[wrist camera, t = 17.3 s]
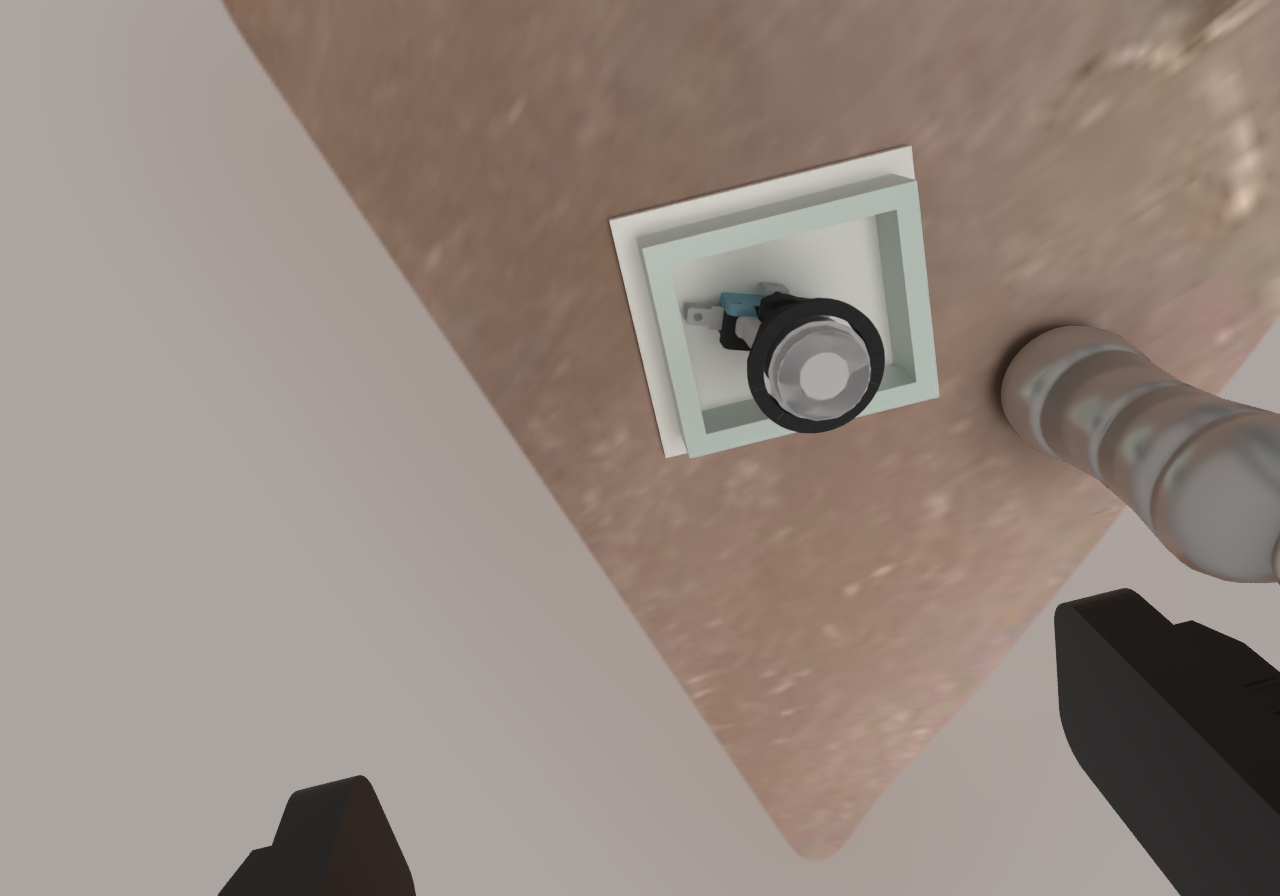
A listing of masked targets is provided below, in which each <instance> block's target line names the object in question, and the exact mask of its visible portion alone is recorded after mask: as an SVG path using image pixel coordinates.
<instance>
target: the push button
mask: <svg viewBox="0 0 1280 896" xmlns="http://www.w3.org/2000/svg"><path fill="white" fill-rule="evenodd" d="M760 285H761V286H762V287H763V288H765V295H755V294H742V293H729V292H722V293H721V298H720V302H711V301H709V302H708V304H695V303H686V304H685V309H684V317H683V318H684V319H685V320H686V323H687V324H688V325H699V326H709V329H710V330H718V331H719V333H720V338H719V342H720V343H721V345H722V346H723V348H725V349H728V350H740V351H750V353H749V356H748V359H747V379H748V385H749V389H750V391H751V394H752V396H753V398H754V400H755V402H756V404H757V405H758V407H759V408H760V410H761V411H762V412H763V413H764V414H765V415H766V416H767V417H768V418H769V419H770V420H771V421H773V422H774V423H776V424H777V425H779V426H781V427H783V428H785V429H788V430H791V431H795V432H800V433H820V432H825V431H829V430H833V429H836V428H838V427H840V426H842V425H844V424H846V423H848V422H850V421H851V420H852V419H854V418H855V417H857V416H858V415H859V414H860V413H861V412H862V411H863V410H864V409H865V408H866V407H867V406H868V405H869V403H870V402H871V401H872V399H873V398H874V396H875V394H876V393H877V391H878V389H879V386H880V384H881V381H882V378H883V374H884V368H885V352H884V346H883V342H882V339H881V337H880V334H879V332H878V330H877V329H876V327H875V326H874V324H873V323H872V322H871V320H870V319H869V318H868V317H867V316H866V315H865V314H863V313H862V312H861V311H859V310H858V309H857V308H855V307H853V306H852V305H850V304H848V303H845V302H843V301H839V300H836V299H830V298H803V297H796V296H793V295H790V294H789V289H787V288H786V287H785V286H784V285H783V284H780V283H772V282H760ZM771 285H774V286H771ZM698 312H699V314H698V315H697V316H694V314H695V313H698ZM829 316H833V317H837V318H840V319H843V320H845V321H847V322H848V323H849V325H850V326H851V328H852V329H851V328H850V327H848V326H846V325H843V324H840V323H837V322H836V321H834V320H833V319H831V318H829ZM764 373H765V375H766V376H767V378H768V379H769V382H770V389H771V392H772V394H773V395H774V397H775V398H776V399H775V398H773V397H772V396H771V395H770V394H769V393H768V391H767V389H766V386H765V382H764Z"/></svg>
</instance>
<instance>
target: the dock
mask: <svg viewBox="0 0 1280 896" xmlns="http://www.w3.org/2000/svg"><path fill="white" fill-rule="evenodd" d="M609 223H610V227H611V231H612V235H613V240H614V244H615V248H616V252H617V256H618V261H619V265H620V269H621V273H622V277H623V282H624V286H625V290H626V294H627V298H628V303H629V307H630V311H631V315H632V319H633V324H634V328H635V332H636V336H637V340H638V345H639V349H640V353H641V357H642V361H643V366H644V370H645V374H646V378H647V382H648V387H649V391H650V395H651V399H652V403H653V408H654V412H655V416H656V420H657V425H658V429H659V433H660V437H661V441H662V446H663V450H664V454H665V457H666V458H669V457H673V456H677V455H681V454H685V453H688V456H689V458H690V459H691V458H695V457H699V456H703V455H707V454H711V453H715V452H719V451H723V450H727V449H731V448H735V447H739V446H743V445H747V444H751V443H755V442H759V441H764V440H768V439H772V438H776V437H780V436H784V435H788V434H792V433H796V432H795V431H791V430H788V429H785V428H783V427H781V426H779V425H777V424H776V423H774V422H773V421H771V420H770V419H769V418H768V417H767V416H766V415H765V414H764V413H763V412H762V411H761V410H760V408H759V407H758V405H757V404H756V402H755V400H754V398H753V396H752V394H751V391H750V389H749V385H748V379H747V359H748V356H749V353H750V351H740V350H728V349H725V348H723V346H722V345H721V343H720V342H719V338H720V333H719V331H718V330H710V329H709V326H699V325H688V324H687V323H686V320H685V319H684V318H683V317H684V309H685V304H686V303H695V304H708V302H709V301H711V302H720V298H721V293H722V292H729V293H742V294H755V295H765V288H763V287H762V286H761V285H760V282H772V283H780V284H783V285H784V286H785V287H786V288H787V289H789V294H790V295H793V296H796V297H803V298H830V299H836V300H839V301H843V302H845V303H848V304H850V305H852V306H853V307H855V308H857V309H858V310H859V311H861V312H862V313H863V314H865V315H866V316H867V317H868V318H869V319H870V320H871V322H872V323H873V324H874V326H875V327H876V329H877V330H878V332H879V334H880V337H881V339H882V342H883V346H884V352H885V368H884V374H883V378H882V381H881V384H880V386H879V389H878V391H877V393H876V394H875V396H874V398H873V399H872V401H871V402H870V403H869V405H868V406H867V407H866V408H865V409H864V410H863V411H862V412H861V413H860V414H859V415H858V416H857V417H860V416H864V415H868V414H872V413H876V412H880V411H884V410H888V409H893V408H897V407H901V406H905V405H909V404H913V403H917V402H921V401H925V400H929V399H933V398H937V397H940V396H939V386H938V377H937V367H936V358H935V348H934V339H933V329H932V319H931V310H930V300H929V291H928V281H927V272H926V262H925V253H924V243H923V233H922V224H921V214H920V205H919V195H918V186H917V180H915V175H914V166H913V156H912V147H911V146H910V145H904V146H900V147H896V148H892V149H888V150H884V151H880V152H876V153H872V154H868V155H864V156H860V157H856V158H852V159H848V160H844V161H840V162H835V163H831V164H827V165H823V166H819V167H815V168H811V169H807V170H803V171H799V172H795V173H791V174H787V175H783V176H779V177H775V178H771V179H767V180H763V181H759V182H755V183H751V184H747V185H743V186H739V187H735V188H731V189H727V190H723V191H719V192H715V193H711V194H707V195H703V196H699V197H695V198H691V199H687V200H683V201H679V202H675V203H671V204H666V205H662V206H658V207H654V208H650V209H646V210H642V211H638V212H634V213H630V214H626V215H622V216H618V217H614V218H610V219H609ZM771 286H774V285H771ZM698 314H699V312H698V313H695V314H694V316H697V315H698ZM829 318H831V319H833V320H834V321H836V322H837V323H840V324H843V325H846V326H848V327H850V328H851V326H850V325H849V323H848V322H847V321H845V320H843V319H840V318H837V317H833V316H829ZM851 329H852V328H851ZM764 382H765V386H766V389H767V391H768V393H769V394H770V395H771V396H772V397H773V398H775V397H774V395H773V394H772V392H771V389H770V382H769V379H768V378H767V376H766V375H765V373H764ZM775 399H776V398H775ZM855 418H856V417H855Z"/></svg>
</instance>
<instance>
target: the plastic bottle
mask: <svg viewBox="0 0 1280 896" xmlns="http://www.w3.org/2000/svg"><path fill="white" fill-rule="evenodd" d="M1001 404H1002V407H1003V411H1004V414H1005V416H1006V417H1007V419H1008V421H1009V423H1010V424H1011V426H1012V427H1013V428H1014V430H1015V431H1016V433H1017V434H1018V435H1019V436H1020V437H1021V438H1022V439H1023V441H1024V442H1025V443H1027V444H1028V445H1030V446H1031V447H1033V448H1034V449H1036V450H1038V451H1041V452H1043V453H1045V454H1047V455H1049V456H1051V457H1054V458H1056V459H1059V460H1062V461H1065V462H1068V463H1070V464H1072V465H1073V466H1075V467H1077V468H1078V469H1080V470H1082V471H1084V472H1085V473H1087V474H1089V475H1091V476H1092V477H1094V478H1096V479H1098V480H1099V481H1100V482H1101V483H1103V484H1104V485H1105V486H1106V487H1107V488H1109V489H1110V490H1111V491H1112V492H1113V493H1114V494H1115V495H1116V496H1118V497H1119V498H1120V499H1121V500H1122V501H1123V502H1124V503H1126V504H1127V505H1128V506H1129V507H1130V508H1131V509H1133V511H1134V512H1135V513H1136V514H1137V515H1138V516H1139V517H1140V518H1141V520H1142V521H1143V522H1144V523H1145V524H1146V525H1147V526H1148V528H1149V529H1150V530H1151V531H1152V532H1153V533H1154V534H1155V535H1156V537H1157V538H1158V539H1159V540H1160V541H1161V543H1162V544H1163V545H1164V546H1165V547H1166V548H1167V549H1168V550H1169V551H1170V552H1171V553H1172V554H1173V555H1175V556H1176V557H1177V558H1178V559H1179V560H1180V561H1181V562H1182V563H1184V564H1185V565H1187V566H1188V567H1190V568H1191V569H1193V570H1196V571H1199V572H1201V573H1204V574H1207V575H1210V576H1213V577H1216V578H1219V579H1222V580H1224V581H1230V582H1238V583H1273V582H1274V583H1275V582H1278V583H1279V584H1280V414H1277V413H1274V412H1270V411H1267V410H1263V409H1260V408H1256V407H1252V406H1249V405H1245V404H1241V403H1237V402H1233V401H1230V400H1226V399H1223V398H1220V397H1218V396H1215V395H1213V394H1210V393H1208V392H1205V391H1203V390H1200V389H1198V388H1195V387H1193V386H1191V385H1188V384H1186V383H1183V382H1181V381H1180V380H1178V379H1177V378H1175V377H1174V376H1172V375H1171V374H1169V373H1168V372H1166V371H1164V370H1163V369H1161V368H1160V367H1158V366H1157V365H1155V364H1154V363H1152V362H1151V361H1150V360H1149V359H1148V358H1147V357H1146V356H1145V355H1144V354H1143V353H1142V352H1141V351H1140V350H1138V349H1137V348H1136V347H1134V346H1133V345H1132V344H1130V343H1129V342H1128V341H1126V340H1125V339H1124V338H1122V337H1121V336H1120V335H1117V334H1115V333H1113V332H1110V331H1108V330H1102V329H1097V328H1091V327H1085V326H1065V327H1060V328H1055V329H1053V330H1050V331H1047V332H1045V333H1043V334H1041V335H1039V336H1038V337H1036V338H1034V339H1033V340H1031V341H1030V342H1029V343H1028V344H1027V345H1025V346H1024V347H1023V348H1022V349H1021V350H1020V351H1019V352H1018V354H1017V355H1016V356H1015V357H1014V358H1013V360H1012V362H1011V363H1010V365H1009V367H1008V368H1007V371H1006V373H1005V376H1004V378H1003V382H1002V388H1001Z"/></svg>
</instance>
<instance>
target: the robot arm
mask: <svg viewBox="0 0 1280 896" xmlns="http://www.w3.org/2000/svg"><path fill="white" fill-rule="evenodd" d="M1054 626H1055V642H1056V660H1057V677H1058V696H1059V711H1060V717H1061V722H1062V726H1063V729H1064V732H1065V735H1066V738H1067V741H1068V743H1069V745H1070V747H1071V750H1072V752H1073V754H1074V756H1075V757H1076V759H1077V761H1078V762H1079V764H1080V765H1081V767H1082V768H1083V770H1084V771H1085V772H1086V774H1087V775H1088V776H1089V778H1090V779H1091V780H1092V781H1093V783H1094V784H1095V785H1096V787H1097V788H1098V789H1099V791H1100V792H1101V793H1102V794H1103V796H1104V797H1105V798H1106V800H1107V801H1108V802H1109V804H1110V805H1111V806H1112V807H1113V809H1114V810H1115V811H1116V812H1117V814H1118V815H1119V816H1120V818H1121V819H1122V820H1123V822H1124V823H1125V824H1126V825H1127V827H1128V828H1129V829H1130V831H1131V832H1132V833H1133V835H1134V836H1135V837H1136V838H1137V840H1138V841H1139V842H1140V844H1141V845H1142V846H1143V848H1144V849H1145V850H1146V851H1147V853H1148V854H1149V855H1150V857H1151V858H1152V859H1153V860H1154V862H1155V863H1156V864H1157V866H1158V867H1159V868H1160V870H1161V871H1162V872H1163V873H1164V875H1165V876H1166V877H1167V879H1168V880H1169V881H1170V882H1171V884H1172V885H1173V886H1174V888H1175V889H1176V890H1177V891H1178V893H1179V894H1180V895H1181V896H1280V672H1279V671H1278V670H1277V669H1275V668H1274V667H1273V666H1272V665H1270V664H1269V663H1268V662H1267V661H1265V660H1264V659H1263V658H1262V657H1260V656H1259V655H1258V654H1257V653H1256V652H1254V651H1253V650H1252V649H1251V648H1249V647H1248V646H1247V645H1246V644H1244V643H1243V642H1241V641H1238V640H1236V639H1234V638H1231V637H1229V636H1227V635H1224V634H1222V633H1220V632H1217V631H1215V630H1213V629H1211V628H1208V627H1206V626H1204V625H1202V624H1199V623H1197V622H1195V621H1187V622H1183V623H1180V624H1175V625H1173V624H1172V623H1171V622H1170V621H1169V620H1167V619H1166V618H1165V617H1164V616H1163V615H1162V614H1161V613H1160V612H1158V611H1157V610H1156V609H1155V608H1154V607H1153V606H1152V605H1150V604H1149V603H1148V602H1147V601H1146V600H1145V599H1144V598H1142V597H1141V596H1140V595H1139V594H1138V593H1136V592H1135V591H1133V590H1131V589H1128V588H1123V589H1119V590H1115V591H1110V592H1107V593H1102V594H1098V595H1094V596H1090V597H1086V598H1082V599H1078V600H1074V601H1070V602H1066V603H1062V604H1060V605H1059V606H1058V607H1057V608H1056V611H1055V616H1054ZM218 896H416V893H415V888H414V883H413V879H412V875H411V872H410V870H409V867H408V865H407V863H406V860H405V858H404V856H403V854H402V851H401V849H400V847H399V845H398V842H397V840H396V838H395V836H394V833H393V831H392V829H391V827H390V825H389V822H388V820H387V818H386V816H385V813H384V811H383V809H382V807H381V804H380V802H379V800H378V798H377V795H376V793H375V791H374V789H373V787H372V785H371V783H370V782H369V781H368V779H367V778H366V777H364V776H362V775H359V776H354V777H350V778H346V779H342V780H338V781H334V782H330V783H326V784H322V785H318V786H314V787H310V788H306V789H302V790H298V791H296V792H294V793H293V794H292V795H291V797H290V798H289V800H288V803H287V805H286V808H285V810H284V813H283V816H282V819H281V822H280V824H279V827H278V830H277V833H276V835H275V838H274V841H273V844H272V846H268V847H264V848H260V849H256V850H253V851H252V852H251V853H250V854H249V856H248V857H247V858H246V859H245V861H244V862H243V864H241V866H240V867H239V868H238V870H237V871H236V872H235V873H234V875H233V876H232V877H231V879H230V880H229V881H228V882H227V884H226V885H225V886H224V887H223V889H222V890H221V891H220V893H219V894H218Z"/></svg>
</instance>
